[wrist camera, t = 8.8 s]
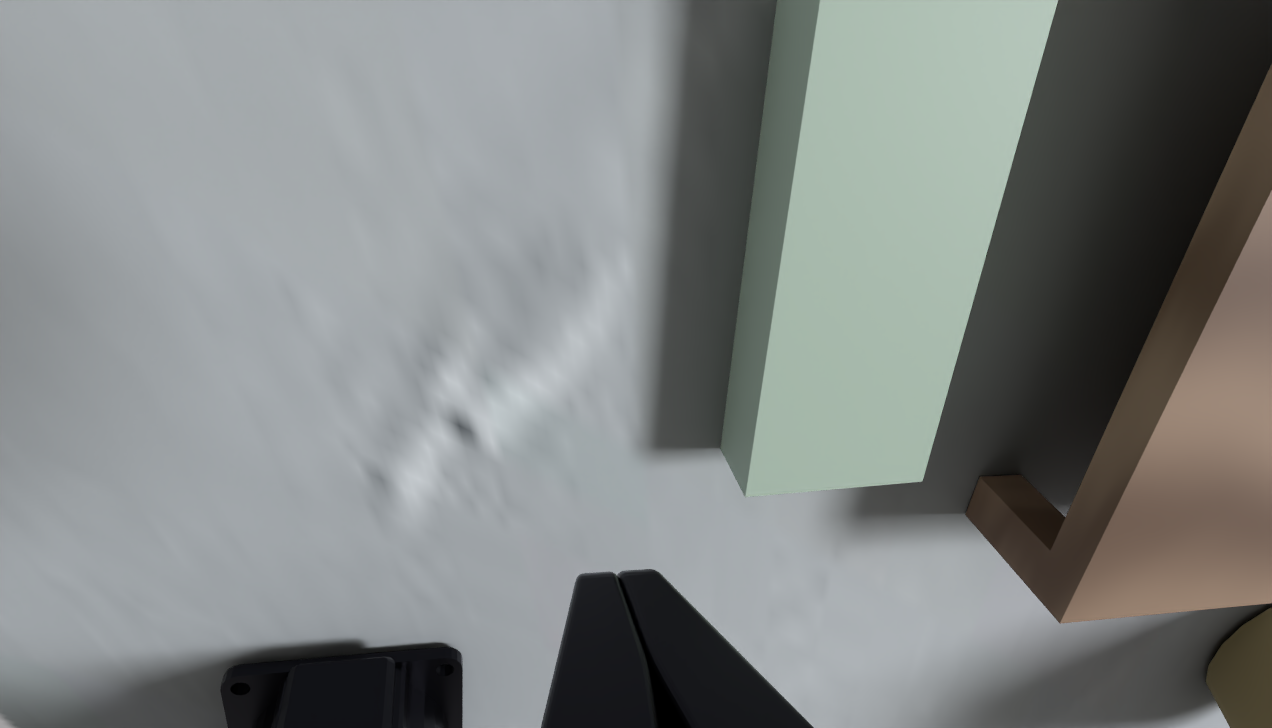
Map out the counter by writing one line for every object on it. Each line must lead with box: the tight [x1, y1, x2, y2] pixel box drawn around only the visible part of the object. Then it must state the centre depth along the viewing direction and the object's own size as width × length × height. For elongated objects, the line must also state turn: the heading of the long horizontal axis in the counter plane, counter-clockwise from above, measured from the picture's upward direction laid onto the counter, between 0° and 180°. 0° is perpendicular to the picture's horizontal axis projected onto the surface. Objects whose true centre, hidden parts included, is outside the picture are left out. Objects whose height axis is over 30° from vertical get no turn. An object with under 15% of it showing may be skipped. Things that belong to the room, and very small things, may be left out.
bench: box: [965, 64, 1272, 623], centre depth 20 cm, size 18×8×5 cm, turn 174°
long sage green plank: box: [720, 0, 1058, 497], centre depth 19 cm, size 12×5×3 cm, turn 177°
